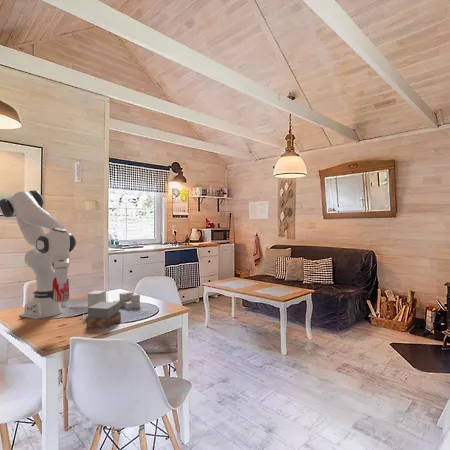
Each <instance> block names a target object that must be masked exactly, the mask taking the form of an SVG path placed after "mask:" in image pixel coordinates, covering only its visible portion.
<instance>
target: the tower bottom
mask: <svg viewBox="0 0 450 450" xmlns="http://www.w3.org/2000/svg"><path fill="white" fill-rule="evenodd" d="M121 314H122V313H121V311H119V312H118V313H116V314H115V315H113V316H111V317H110V318H89V317H88V316H87V317H86V327H87V328H101V329H109V328H111V327H112V326H114V325H116V324H117V323H119V322H121V321H122V316H121ZM120 320H121V321H120Z"/></svg>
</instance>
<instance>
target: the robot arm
mask: <svg viewBox="0 0 450 450" xmlns="http://www.w3.org/2000/svg"><path fill="white" fill-rule="evenodd" d="M43 205H44V197H43V196H42V194H41V193H40V192H39V191H38V190H29V191H17V192H16V193H14V194H13V195H12V196H11V195H10V196H8V197H5V198H1V199H0V214H1V215H2V216H4V217H5V218H12V217H14V216H15V218H16V221H17V222H16V223H17V225H18V227H19V229H20V232H21V233H22V236H23V237H24V239H25V242H26V243H27V244H29V246H32V247H33V249H30V250H28V251H27V252H26V253H25V255H24V263H25V264H26V265H27V267H28V268H30V269H32V270H31V271H33V274H34V276H35V280H36V281H35V283H36V290H35V291H33V292H32V295H33V297H32V299H30V300H29V301H27V303H26V304H25V305H24V308H23V309H24V310H23V311H22V312H20V313H19V317H23V318H27V319H33V320H36V319H37V320H38V319H42V318H50V317H53V316H54V317H55V316H57V315H60V314H62V313H63V309H62V305H61V302H58V303H56V302H54V301H53V280H54V277H56V280H57V283H58V284H59V290H60V289H61V288H62V289H63V286H64V283H66V281H67V278H68V271H69V270H68V269H69V268H68V267H70V265H71V252H72V251H73V250H74V249H75V248H76V245H77V241H76V238H75V237H74V235H73V234H72V233H70V232H69V231H68V229H66V228H65V227H64V226H63V225H62V224H61V223H60V222H59V221H58V219H56V217H55V216H54V215H53V214H51V213H49V212H47V211H46V210H45V209H43V208H42V207H43ZM45 228H46V229H48V230H49V232H47V231H46V230H45Z"/></svg>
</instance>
